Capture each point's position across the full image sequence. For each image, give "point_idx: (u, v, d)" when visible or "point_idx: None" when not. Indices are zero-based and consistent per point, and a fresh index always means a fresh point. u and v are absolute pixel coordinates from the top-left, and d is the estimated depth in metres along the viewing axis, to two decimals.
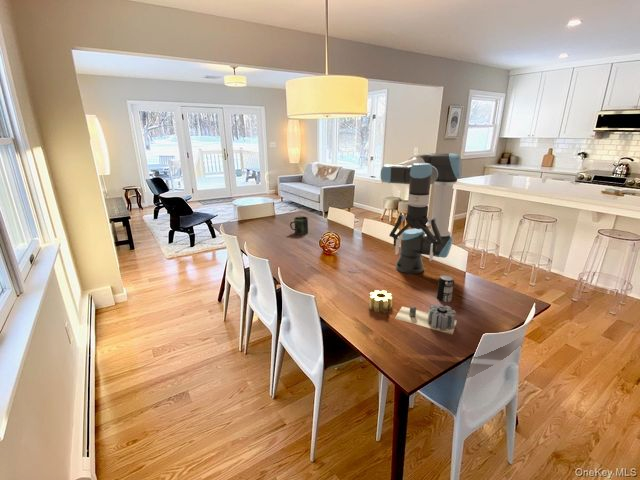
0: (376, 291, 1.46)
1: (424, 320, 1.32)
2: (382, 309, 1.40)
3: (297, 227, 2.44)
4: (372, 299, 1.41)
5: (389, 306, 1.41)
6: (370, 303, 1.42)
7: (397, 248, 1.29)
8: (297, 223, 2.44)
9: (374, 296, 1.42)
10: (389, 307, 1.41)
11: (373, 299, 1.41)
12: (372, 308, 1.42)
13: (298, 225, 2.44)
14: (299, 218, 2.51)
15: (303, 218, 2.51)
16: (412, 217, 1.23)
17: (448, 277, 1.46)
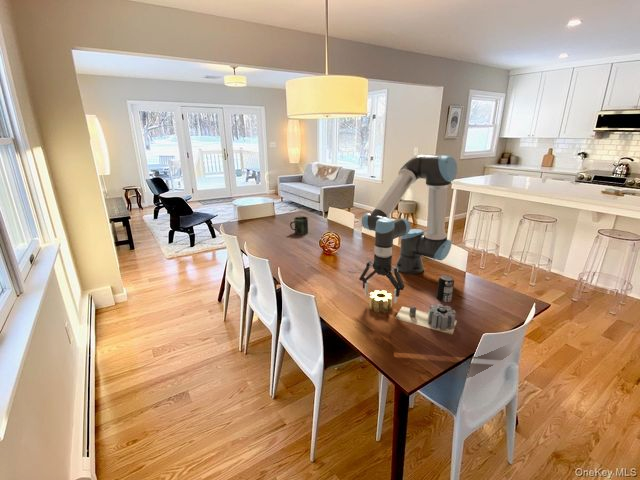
0: (376, 291, 1.46)
1: (424, 320, 1.32)
2: (382, 309, 1.40)
3: (297, 227, 2.44)
4: (372, 299, 1.41)
5: (389, 306, 1.41)
6: (370, 303, 1.42)
7: (366, 290, 1.44)
8: (297, 223, 2.44)
9: (374, 296, 1.42)
10: (389, 307, 1.41)
11: (373, 299, 1.41)
12: (372, 308, 1.42)
13: (298, 225, 2.44)
14: (299, 218, 2.51)
15: (303, 218, 2.51)
16: (378, 265, 1.37)
17: (448, 277, 1.46)
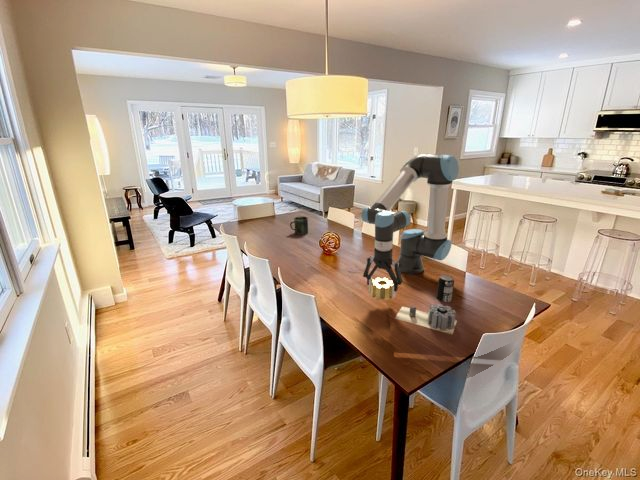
0: (377, 279, 1.45)
1: (424, 320, 1.32)
2: (384, 296, 1.38)
3: (297, 227, 2.44)
4: (373, 287, 1.39)
5: (391, 293, 1.39)
6: (371, 291, 1.41)
7: (370, 287, 1.43)
8: (297, 223, 2.44)
9: (375, 283, 1.40)
10: (391, 294, 1.40)
11: (374, 286, 1.39)
12: (373, 296, 1.41)
13: (298, 225, 2.44)
14: (299, 218, 2.51)
15: (303, 218, 2.51)
16: (378, 258, 1.37)
17: (448, 277, 1.46)
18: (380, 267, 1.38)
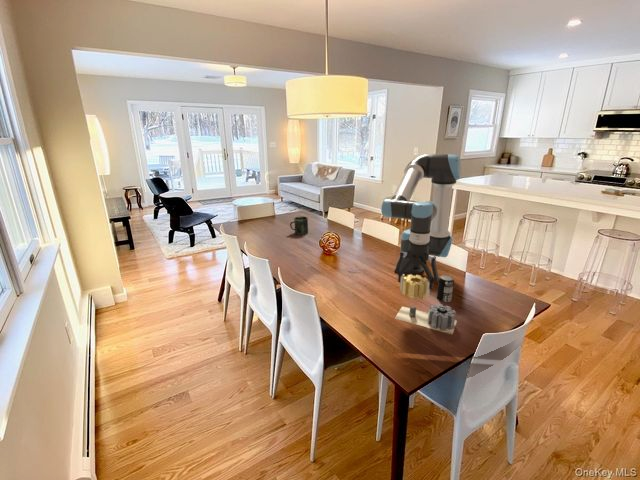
0: (409, 275, 1.33)
1: (424, 320, 1.32)
2: (418, 294, 1.27)
3: (297, 227, 2.44)
4: (406, 284, 1.28)
5: (425, 291, 1.28)
6: (404, 288, 1.29)
7: None
8: (297, 223, 2.44)
9: (408, 280, 1.29)
10: (425, 292, 1.28)
11: (407, 284, 1.28)
12: (406, 294, 1.29)
13: (298, 225, 2.44)
14: (299, 218, 2.51)
15: (303, 218, 2.51)
16: (413, 252, 1.26)
17: (448, 277, 1.46)
18: (414, 262, 1.27)
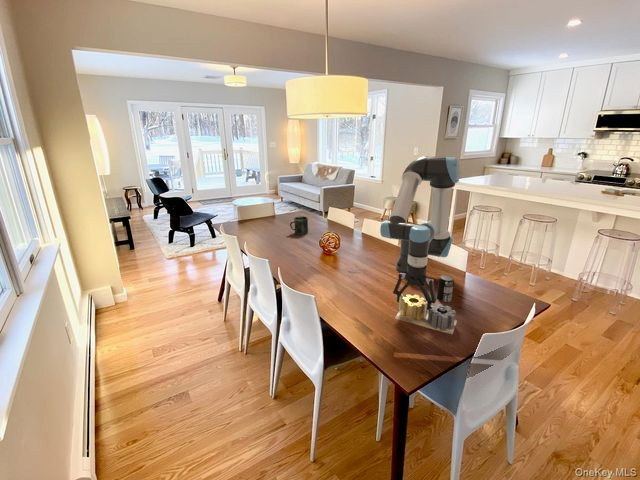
0: (408, 296, 1.36)
1: (424, 320, 1.32)
2: (416, 315, 1.30)
3: (297, 227, 2.44)
4: (405, 304, 1.31)
5: (423, 312, 1.31)
6: (402, 309, 1.33)
7: (400, 305, 1.35)
8: (297, 223, 2.44)
9: (407, 301, 1.32)
10: (423, 313, 1.31)
11: (406, 304, 1.31)
12: (404, 314, 1.33)
13: (298, 225, 2.44)
14: (299, 218, 2.51)
15: (303, 218, 2.51)
16: (411, 274, 1.29)
17: (448, 277, 1.46)
18: (413, 284, 1.30)
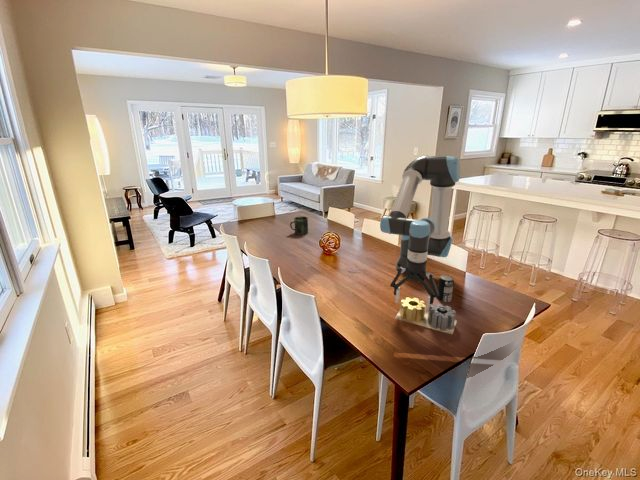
0: (407, 298, 1.37)
1: (424, 320, 1.32)
2: (415, 318, 1.31)
3: (297, 227, 2.44)
4: (404, 307, 1.32)
5: (422, 315, 1.32)
6: (402, 311, 1.33)
7: (397, 297, 1.35)
8: (297, 223, 2.44)
9: (406, 304, 1.33)
10: (422, 316, 1.32)
11: (405, 307, 1.32)
12: (404, 317, 1.33)
13: (298, 225, 2.44)
14: (299, 218, 2.51)
15: (303, 218, 2.51)
16: (411, 270, 1.28)
17: (448, 277, 1.46)
18: (412, 279, 1.29)
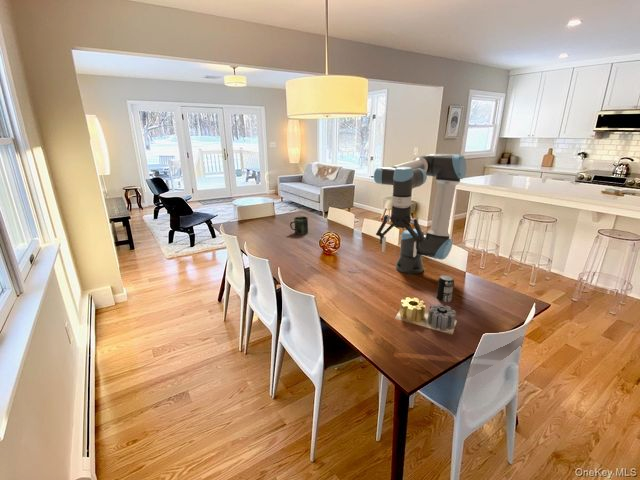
0: (407, 298, 1.37)
1: (424, 320, 1.32)
2: (415, 318, 1.31)
3: (297, 227, 2.44)
4: (404, 307, 1.32)
5: (422, 315, 1.32)
6: (402, 311, 1.33)
7: (383, 246, 1.39)
8: (297, 223, 2.44)
9: (406, 304, 1.33)
10: (422, 316, 1.32)
11: (405, 307, 1.32)
12: (404, 317, 1.33)
13: (298, 225, 2.44)
14: (299, 218, 2.51)
15: (303, 218, 2.51)
16: (396, 217, 1.32)
17: (448, 277, 1.46)
18: (398, 226, 1.33)
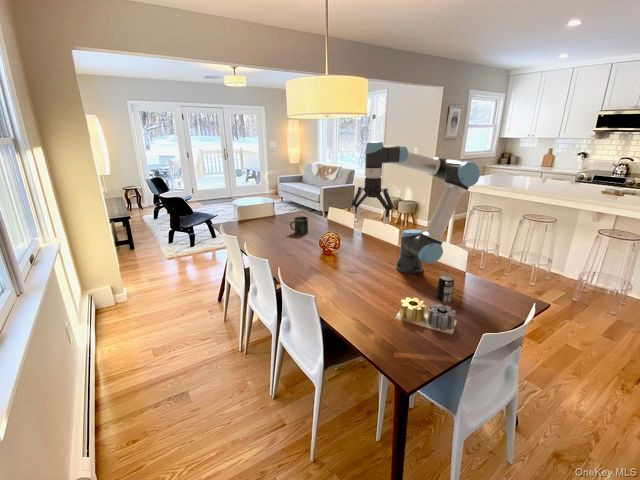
0: (407, 298, 1.37)
1: (424, 320, 1.32)
2: (415, 318, 1.31)
3: (297, 227, 2.44)
4: (404, 307, 1.32)
5: (422, 315, 1.32)
6: (402, 311, 1.33)
7: (358, 215, 1.53)
8: (297, 223, 2.44)
9: (406, 304, 1.33)
10: (422, 316, 1.32)
11: (405, 307, 1.32)
12: (404, 317, 1.33)
13: (298, 225, 2.44)
14: (299, 218, 2.51)
15: (303, 218, 2.51)
16: (369, 187, 1.46)
17: (448, 277, 1.46)
18: (370, 196, 1.47)
